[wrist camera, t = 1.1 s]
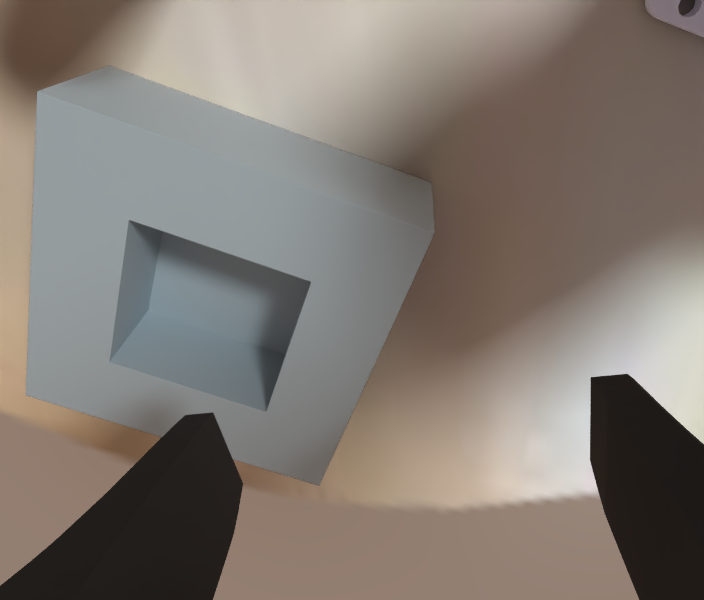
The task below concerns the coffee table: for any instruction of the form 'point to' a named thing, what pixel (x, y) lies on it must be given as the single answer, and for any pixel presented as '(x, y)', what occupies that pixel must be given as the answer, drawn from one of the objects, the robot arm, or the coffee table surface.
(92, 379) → the socket block
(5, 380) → the coffee table surface
